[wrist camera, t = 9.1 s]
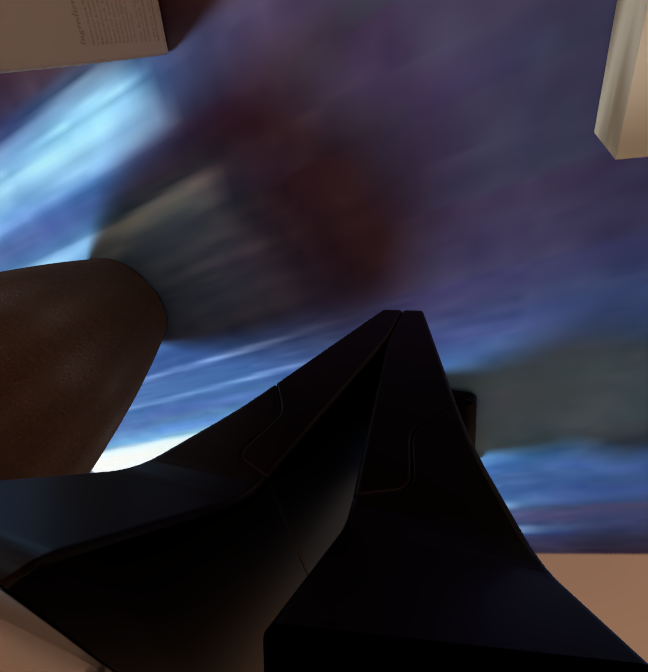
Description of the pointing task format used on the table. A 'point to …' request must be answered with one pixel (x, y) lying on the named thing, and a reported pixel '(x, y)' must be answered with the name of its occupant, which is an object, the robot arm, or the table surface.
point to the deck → (626, 84)
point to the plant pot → (71, 361)
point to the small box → (77, 32)
